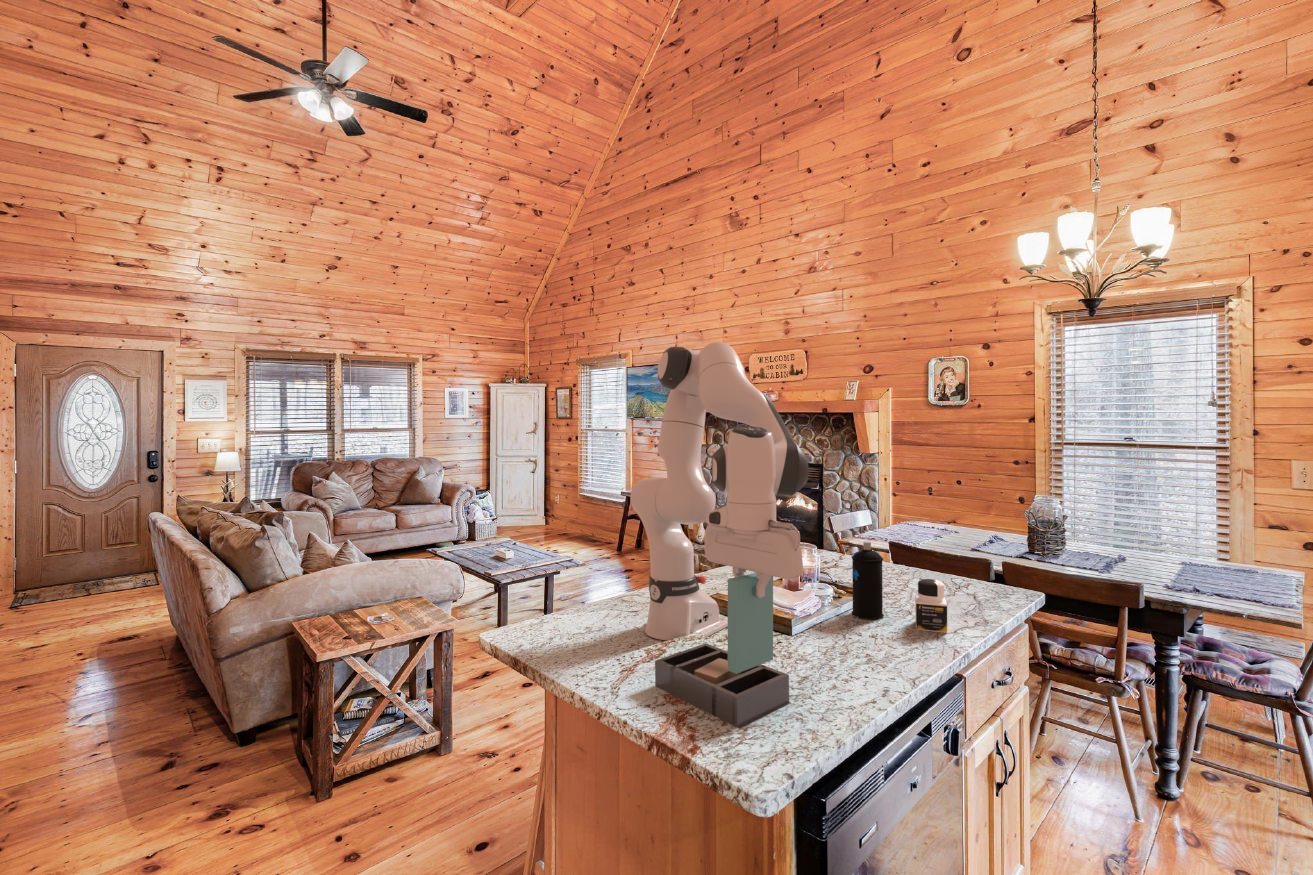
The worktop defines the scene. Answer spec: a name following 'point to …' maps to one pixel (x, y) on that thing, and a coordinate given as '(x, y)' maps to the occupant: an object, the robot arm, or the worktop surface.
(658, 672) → the rack
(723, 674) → the walnut offcut
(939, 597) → the medicine bottle
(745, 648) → the teal panel
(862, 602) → the aerosol can
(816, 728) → the worktop surface
